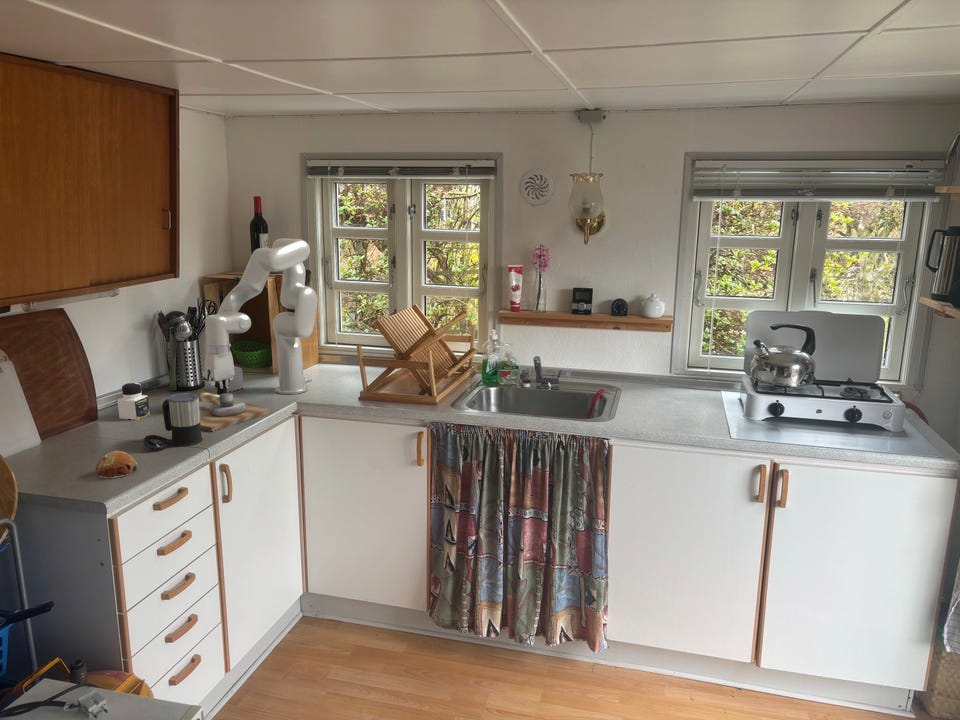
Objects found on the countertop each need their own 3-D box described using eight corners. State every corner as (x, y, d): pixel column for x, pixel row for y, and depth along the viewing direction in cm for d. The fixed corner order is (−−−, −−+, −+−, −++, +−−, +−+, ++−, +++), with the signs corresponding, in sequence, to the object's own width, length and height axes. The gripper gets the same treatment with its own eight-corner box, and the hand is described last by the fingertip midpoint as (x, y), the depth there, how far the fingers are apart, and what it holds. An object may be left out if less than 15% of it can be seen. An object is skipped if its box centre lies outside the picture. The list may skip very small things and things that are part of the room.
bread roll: (123, 477, 209) (110, 452, 209) (148, 466, 206) (135, 440, 205) (96, 490, 200) (83, 464, 200) (122, 478, 197) (109, 452, 196)
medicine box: (237, 387, 296) (235, 366, 294) (244, 388, 294) (242, 367, 292) (220, 391, 290) (218, 370, 288) (227, 392, 288) (225, 371, 286)
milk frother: (209, 438, 232) (205, 393, 229) (179, 454, 217) (174, 407, 214) (169, 435, 235) (165, 391, 232) (137, 451, 220) (132, 404, 217)
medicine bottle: (137, 420, 252) (133, 386, 249) (119, 419, 253) (115, 385, 251) (150, 414, 259) (146, 381, 256) (132, 413, 260) (128, 381, 257)
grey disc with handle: (252, 409, 258) (251, 393, 256) (225, 418, 248) (223, 401, 246) (214, 401, 268) (213, 386, 266) (186, 409, 258) (185, 393, 256)
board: (229, 404, 271) (229, 399, 271) (271, 412, 260) (271, 407, 260) (168, 422, 250) (168, 417, 249) (211, 431, 238) (211, 426, 238)
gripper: (227, 344, 270) (231, 392, 274) (194, 351, 257) (199, 401, 261) (241, 346, 267) (245, 394, 270) (209, 353, 254) (213, 404, 258)
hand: (222, 398), depth 266 cm, fingers closed
